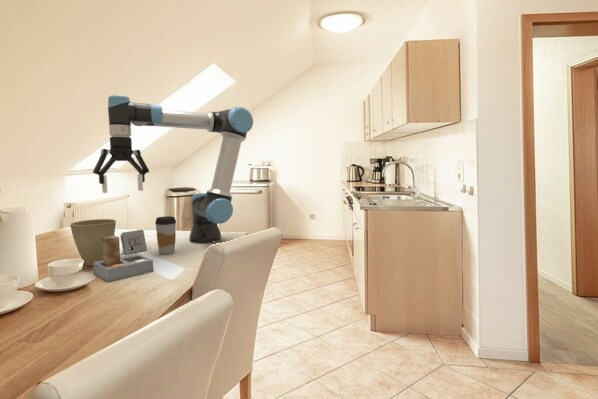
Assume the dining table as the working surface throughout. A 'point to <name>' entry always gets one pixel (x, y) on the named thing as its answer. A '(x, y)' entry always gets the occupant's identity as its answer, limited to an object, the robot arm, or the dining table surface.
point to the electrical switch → (133, 241)
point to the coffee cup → (166, 234)
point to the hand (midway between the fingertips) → (123, 191)
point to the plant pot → (92, 238)
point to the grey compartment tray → (123, 267)
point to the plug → (111, 250)
